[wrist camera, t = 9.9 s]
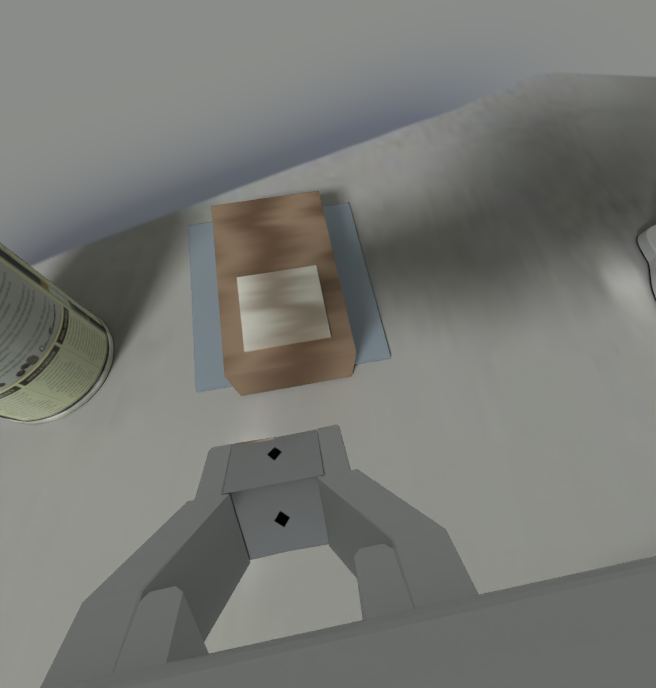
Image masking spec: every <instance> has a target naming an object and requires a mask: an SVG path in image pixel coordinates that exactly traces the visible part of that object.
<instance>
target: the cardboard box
mask: <svg viewBox="0 0 656 688" xmlns="http://www.w3.org/2000/svg"><path fill="white" fill-rule="evenodd" d="M211 208H212V221H213V234H214V247H215V260H216V273H217V286H218V299H219V312H220V325H221V338H222V351H223V364H224V376H225V378H226V379H227V380H228V381H229V382H230V384H231V385H232V386H233V387H234V388H235V389H236V391H237V392H238V393H239V394H240V395H241V396H243V395H249V394H255V393H260V392H266V391H271V390H277V389H283V388H288V387H294V386H300V385H305V384H311V383H316V382H322V381H328V380H333V379H339V378H344V377H350V376H352V374H353V369H354V364H355V359H356V354H357V353H356V349H355V345H354V340H353V336H352V332H351V328H350V323H349V319H348V315H347V310H346V306H345V302H344V298H343V293H342V289H341V285H340V280H339V276H338V272H337V268H336V263H335V259H334V255H333V250H332V246H331V242H330V238H329V233H328V229H327V225H326V220H325V216H324V212H323V207H322V203H321V199H320V195H319V191H314V192H307V193H300V194H293V195H286V196H279V197H271V198H264V199H257V200H250V201H243V202H236V203H228V204H221V205H214V206H211Z"/></svg>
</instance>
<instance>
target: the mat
mask: <svg viewBox="0 0 656 688" xmlns="http://www.w3.org/2000/svg"><path fill="white" fill-rule="evenodd" d="M322 207H323V212H324V216H325V220H326V225H327V229H328V233H329V238H330V242H331V246H332V250H333V255H334V259H335V263H336V268H337V272H338V276H339V280H340V285H341V289H342V293H343V298H344V302H345V306H346V310H347V315H348V319H349V323H350V328H351V332H352V336H353V340H354V345H355V349H356V353H357V354H356V359H355V364H354V365H356V364H361V363H367V362H373V361H378V360H384V359H390V358H391V356H390V353H389V349H388V345H387V342H386V338H385V334H384V331H383V327H382V323H381V320H380V316H379V312H378V309H377V305H376V301H375V298H374V294H373V290H372V287H371V283H370V279H369V276H368V272H367V268H366V264H365V261H364V257H363V253H362V250H361V246H360V242H359V239H358V235H357V231H356V228H355V224H354V220H353V217H352V213H351V209H350V206H349V203H343V204H336V205H329V206H322ZM189 246H190V269H191V291H192V314H193V337H194V360H195V382H196V392H202V391H208V390H214V389H219V388H225V387H231V386H232V385H231V384H230V382H229V381H228V380H227V379H226V378H225V376H224V364H223V351H222V338H221V325H220V312H219V299H218V286H217V273H216V260H215V247H214V234H213V222H210V223H203V224H196V225H189Z"/></svg>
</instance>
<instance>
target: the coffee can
mask: <svg viewBox="0 0 656 688" xmlns="http://www.w3.org/2000/svg"><path fill="white" fill-rule="evenodd" d="M113 350H114V347H113V339H112V336H111V333H110V331H109V329H108V327H107V326H106V325H105V323H104V322H103V321H102V320H101V319H100V318H98V317H97V316H95V315H94V314H92V313H90V312H89V311H88V310H86V309H85V308H84V307H82V306H81V305H80V304H79V303H77V302H76V301H75V300H73V299H72V298H71V297H70V296H68V295H67V294H66V293H64V292H63V291H62V290H61V289H59V288H58V287H57V286H55V285H54V284H53V283H51V282H50V281H49V280H48V279H46V278H45V277H44V276H42V275H41V274H40V273H39V272H37V271H36V270H35V269H33V268H32V267H31V266H30V265H28V264H27V263H26V262H25V261H23V260H22V259H21V258H19V257H18V256H17V255H16V254H14V253H13V252H12V251H11V250H9V249H8V248H7V247H5V246H4V245H3V244H1V243H0V417H2V418H6V419H9V420H11V421H14V422H19V423H25V424H39V423H45V422H49V421H53V420H56V419H59V418H61V417H63V416H66V415H68V414H70V413H71V412H73V411H75V410H76V409H78V408H79V407H81V406H82V405H84V404H85V403H86V402H87V401H88V400H89V399H90V398H91V397H92V396H93V395H94V394H95V393H96V392H97V391H98V390H99V388H100V387H101V385H102V384H103V382H104V381H105V379H106V377H107V375H108V373H109V370H110V368H111V364H112V361H113Z"/></svg>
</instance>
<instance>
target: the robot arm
mask: <svg viewBox="0 0 656 688" xmlns="http://www.w3.org/2000/svg"><path fill="white" fill-rule="evenodd" d="M638 244H639V246H640V248H641V250H642V252H643V254H644V256H645V257H646V259H647V260H648V262H649V266H650V271H651V282H652V287H653V291H654V294H655V297H656V225H654V226H652V227H650V228H649V229H647V230H646V231H644V232H643V233H641V234H640V235H639V236H638ZM318 438H319V439H318ZM319 444H320V445H319ZM320 450H321V451H320ZM321 456H322V457H321ZM326 544H329V546H330V547H331V548H332V550H333V551H334V552H335V553H336V554H337V556H338V557H339V558H340V559H341V560H342V561H343V563H344V564H345V565H346V566H347V567H348V569H349V570H350V571H351V572H352V573H353V574H354V576H355V577H356V578H357V582H358V589H359V596H360V603H361V611H362V618H363V620H361V621H357V622H352V623H348V624H343V625H339V626H334V627H329V628H325V629H320V630H316V631H311V632H306V633H302V634H297V635H293V636H288V637H283V638H279V639H274V640H270V641H265V642H261V643H256V644H251V645H247V646H242V647H238V648H233V649H228V650H224V651H219V652H215V653H210V654H209V653H208V651H207V648H206V646H205V644H204V641H205V640H206V638H207V636H208V634H209V633H210V631H211V629H212V628H213V626H214V624H215V622H216V621H217V619H218V617H219V615H220V614H221V612H222V610H223V609H224V607H225V605H226V603H227V602H228V600H229V598H230V597H231V595H232V593H233V591H234V590H235V588H236V586H237V584H238V583H239V581H240V579H241V578H242V576H243V574H244V572H245V571H246V569H247V567H248V565H249V564H250V561H249V560H252V559H257V558H261V557H265V556H270V555H274V554H278V553H282V552H287V551H292V550H297V549H303V548H309V547H315V546H321V545H326ZM40 688H656V556H654V557H650V558H645V559H640V560H636V561H631V562H627V563H622V564H617V565H613V566H608V567H604V568H599V569H594V570H590V571H585V572H581V573H576V574H571V575H567V576H562V577H558V578H553V579H549V580H544V581H539V582H535V583H530V584H526V585H521V586H516V587H512V588H507V589H503V590H498V591H493V592H489V593H484V594H480V595H479V594H478V592H477V590H476V588H475V586H474V584H473V582H472V580H471V578H470V576H469V574H468V572H467V570H466V568H465V566H464V564H463V562H462V560H461V558H460V556H459V554H458V552H457V550H456V548H455V547H454V545H453V543H452V541H451V539H450V537H449V535H448V533H447V531H446V529H445V528H443V527H442V526H440V525H439V524H437V523H436V522H434V521H433V520H431V519H430V518H428V517H427V516H425V515H424V514H422V513H421V512H420V511H418V510H417V509H415V508H414V507H412V506H411V505H409V504H408V503H406V502H405V501H403V500H402V499H400V498H399V497H397V496H396V495H395V494H393V493H392V492H390V491H389V490H387V489H386V488H384V487H383V486H381V485H380V484H378V483H377V482H375V481H374V480H372V479H371V478H369V477H368V476H367V475H365V474H364V473H362V472H361V471H359V470H358V469H356V470H351V469H350V465H349V461H348V457H347V454H346V450H345V446H344V442H343V439H342V435H341V431H340V427H339V426H338V425H333V426H329V427H324V428H319V429H318V433H317V430H312V431H307V432H302V433H296V434H291V435H286V436H281V437H273V438H266V439H260V440H254V441H248V442H241V443H235V444H229V445H224V446H218V447H213V448H211V449H210V450H209V452H208V455H207V459H206V462H205V466H204V469H203V473H202V476H201V480H200V483H199V487H198V490H197V494H196V497H195V500H193V501H188V502H187V503H186V504H185V505H184V506H183V507H181V508H180V509H179V510H178V511H177V512H176V513H175V514H174V515H173V516H172V517H171V518H170V519H169V520H168V521H167V522H166V523H165V524H164V525H163V526H162V527H161V528H160V529H159V530H158V531H157V532H156V533H154V534H153V535H152V536H151V537H150V538H149V539H148V540H147V541H146V542H145V543H144V544H143V545H142V546H141V547H140V548H139V549H138V550H137V551H136V552H135V553H134V554H133V555H132V556H131V557H130V558H128V559H127V560H126V561H125V562H124V563H123V564H122V565H121V566H120V567H119V568H118V569H117V570H116V571H115V572H114V573H113V574H112V575H111V576H110V577H109V578H108V579H107V580H106V581H105V582H104V583H102V584H101V585H100V586H99V587H98V588H97V589H96V590H95V591H94V592H93V593H92V594H91V595H90V596H89V597H88V598H87V599H86V600H85V601H84V602H83V603H82V605H81V607H80V609H79V611H78V613H77V615H76V617H75V619H74V621H73V623H72V625H71V627H70V629H69V631H68V633H67V635H66V637H65V639H64V641H63V643H62V645H61V647H60V649H59V651H58V653H57V655H56V657H55V659H54V661H53V663H52V665H51V667H50V669H49V671H48V673H47V675H46V677H45V679H44V681H43V683H42V685H41V687H40Z"/></svg>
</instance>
